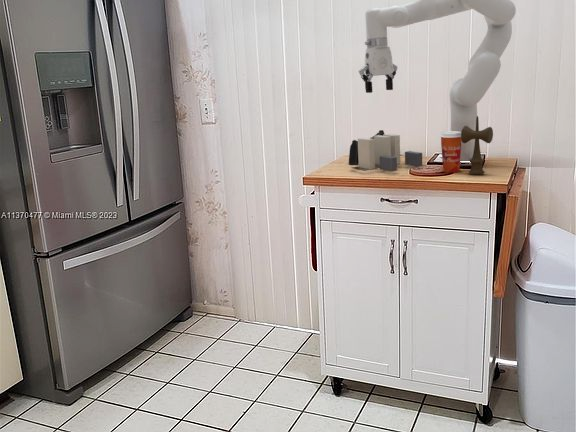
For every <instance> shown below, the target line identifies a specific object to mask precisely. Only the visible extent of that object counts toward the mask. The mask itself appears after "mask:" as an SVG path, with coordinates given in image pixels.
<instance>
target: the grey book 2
mask: <svg viewBox="0 0 576 432" xmlns="http://www.w3.org/2000/svg"><path fill="white" fill-rule="evenodd" d="M404 165H406V166H412V167H417V168H419V167H422V166H423V152H419V151H413V150H408V151H404Z"/></svg>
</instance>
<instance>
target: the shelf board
mask: <svg viewBox="0 0 576 432" xmlns="http://www.w3.org/2000/svg"><path fill="white" fill-rule="evenodd" d="M400 165H401V163H400V164H397V166H400ZM351 169H353V170H357V171H363V172H367V171H371V170H373V169H365V168H360V167H359V165H357V166H354V167H353V166H352V167H351ZM377 169H378V170H379V169H380V165H376V164H375V169H374V170H377Z"/></svg>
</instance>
